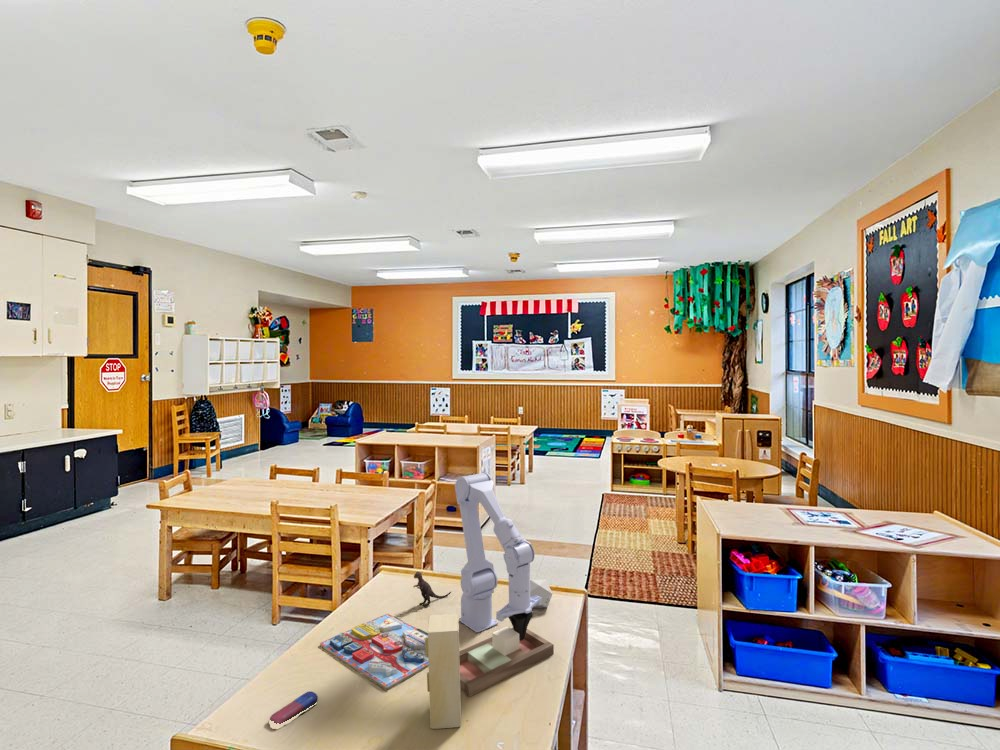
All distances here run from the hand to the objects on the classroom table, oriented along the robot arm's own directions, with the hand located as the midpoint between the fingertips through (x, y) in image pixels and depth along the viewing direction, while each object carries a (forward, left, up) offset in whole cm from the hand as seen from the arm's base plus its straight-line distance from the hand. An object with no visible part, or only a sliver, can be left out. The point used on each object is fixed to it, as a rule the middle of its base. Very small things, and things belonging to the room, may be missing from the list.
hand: (519, 638), depth 141 cm
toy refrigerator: (+8, -30, -4) cm, 31 cm away
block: (0, -5, -1) cm, 5 cm away
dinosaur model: (-40, -3, -4) cm, 40 cm away
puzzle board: (-25, -27, -4) cm, 36 cm away
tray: (0, -8, -3) cm, 9 cm away
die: (-16, +21, -4) cm, 27 cm away
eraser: (-14, -55, -4) cm, 57 cm away
